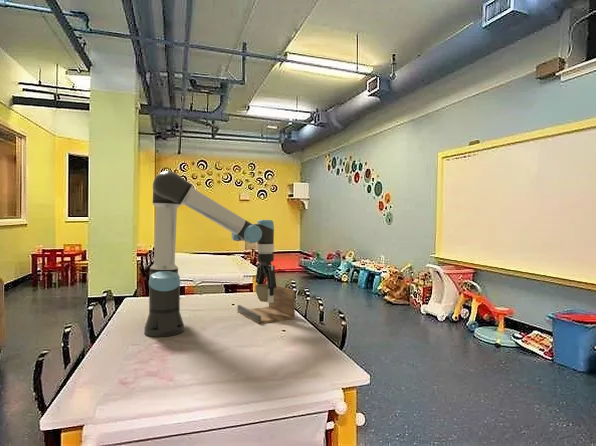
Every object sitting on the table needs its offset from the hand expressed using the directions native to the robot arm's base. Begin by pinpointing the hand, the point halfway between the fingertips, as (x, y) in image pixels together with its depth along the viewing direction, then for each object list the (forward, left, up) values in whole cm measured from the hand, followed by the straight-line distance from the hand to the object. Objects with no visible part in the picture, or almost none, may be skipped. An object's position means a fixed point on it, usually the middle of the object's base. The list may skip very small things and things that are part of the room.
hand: (265, 300), depth 194 cm
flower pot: (0, 0, 0) cm, 0 cm away
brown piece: (0, 0, -7) cm, 7 cm away
